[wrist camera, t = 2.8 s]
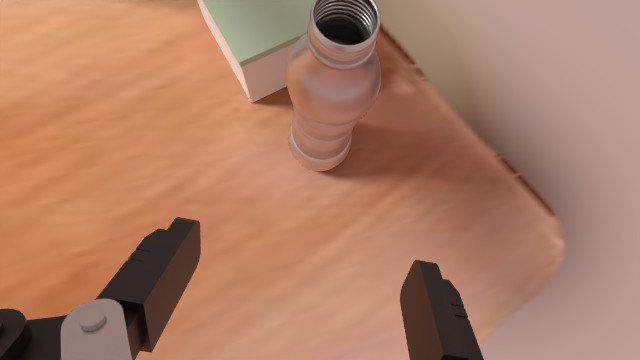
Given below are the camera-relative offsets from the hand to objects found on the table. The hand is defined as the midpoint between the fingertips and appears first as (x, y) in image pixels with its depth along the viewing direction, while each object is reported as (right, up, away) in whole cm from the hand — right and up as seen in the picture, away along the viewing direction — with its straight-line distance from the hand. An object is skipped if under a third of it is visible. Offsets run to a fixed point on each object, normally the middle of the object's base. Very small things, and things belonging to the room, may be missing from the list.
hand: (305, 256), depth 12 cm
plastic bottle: (0, +6, +24) cm, 25 cm away
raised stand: (-5, +19, +26) cm, 33 cm away
